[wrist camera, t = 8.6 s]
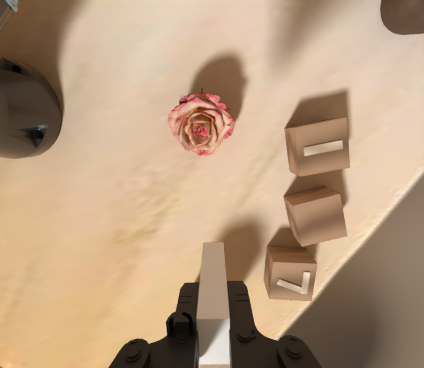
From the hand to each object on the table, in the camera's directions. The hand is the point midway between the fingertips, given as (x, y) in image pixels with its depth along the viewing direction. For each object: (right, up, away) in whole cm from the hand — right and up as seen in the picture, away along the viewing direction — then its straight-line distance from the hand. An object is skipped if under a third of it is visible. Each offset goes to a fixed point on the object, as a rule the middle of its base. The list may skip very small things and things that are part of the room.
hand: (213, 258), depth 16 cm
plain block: (+16, +1, +21) cm, 27 cm away
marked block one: (+16, +12, +19) cm, 27 cm away
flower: (-1, +15, +19) cm, 24 cm away
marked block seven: (+13, -9, +24) cm, 29 cm away
